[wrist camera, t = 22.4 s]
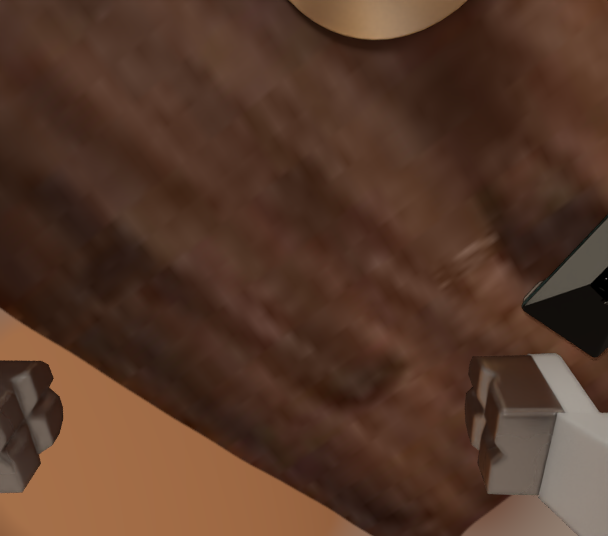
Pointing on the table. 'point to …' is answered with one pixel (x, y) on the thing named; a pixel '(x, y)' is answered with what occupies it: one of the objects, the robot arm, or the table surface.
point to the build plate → (577, 295)
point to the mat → (376, 16)
